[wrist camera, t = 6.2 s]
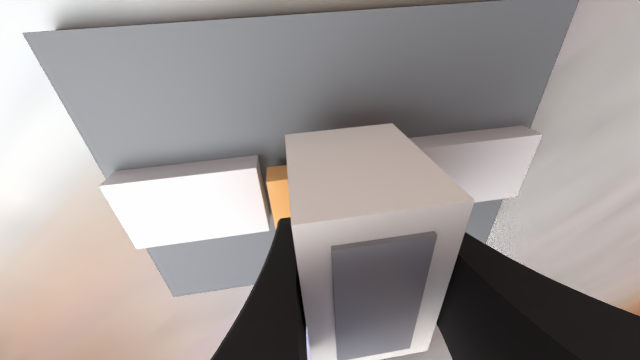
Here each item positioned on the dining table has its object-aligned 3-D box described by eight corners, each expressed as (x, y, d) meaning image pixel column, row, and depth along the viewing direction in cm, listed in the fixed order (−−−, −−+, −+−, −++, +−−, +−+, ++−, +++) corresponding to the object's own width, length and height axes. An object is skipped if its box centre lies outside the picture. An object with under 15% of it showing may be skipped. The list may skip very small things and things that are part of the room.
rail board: (469, 233, 19) (496, 263, 17) (181, 276, 17) (166, 315, 15) (547, -3, 12) (614, -7, 9) (54, 30, 10) (-12, 35, 8)
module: (380, 247, 13) (429, 355, 9) (301, 258, 13) (313, 377, 9) (392, 123, 10) (479, 204, 6) (284, 134, 10) (291, 230, 5)
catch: (394, 204, 14) (404, 219, 13) (277, 220, 13) (277, 237, 12) (401, 151, 12) (412, 164, 11) (267, 167, 11) (266, 182, 10)
